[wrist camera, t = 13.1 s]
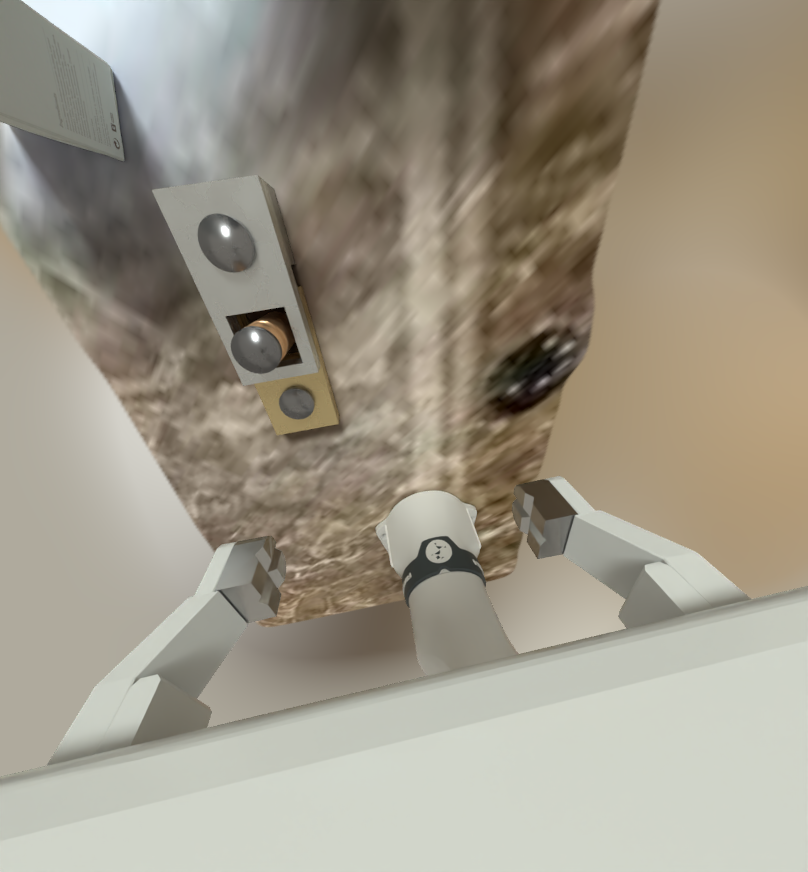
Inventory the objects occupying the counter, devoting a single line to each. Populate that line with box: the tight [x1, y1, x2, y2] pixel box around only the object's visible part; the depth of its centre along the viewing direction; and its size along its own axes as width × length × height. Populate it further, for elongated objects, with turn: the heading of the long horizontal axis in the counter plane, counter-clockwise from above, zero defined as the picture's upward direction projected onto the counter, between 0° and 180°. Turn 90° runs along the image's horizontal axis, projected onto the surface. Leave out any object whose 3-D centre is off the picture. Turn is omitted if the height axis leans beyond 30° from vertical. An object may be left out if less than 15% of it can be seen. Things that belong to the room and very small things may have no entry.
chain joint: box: [152, 175, 339, 435], centre depth 30 cm, size 24×8×6 cm, turn 8°
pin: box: [231, 312, 295, 374], centre depth 29 cm, size 4×4×9 cm
